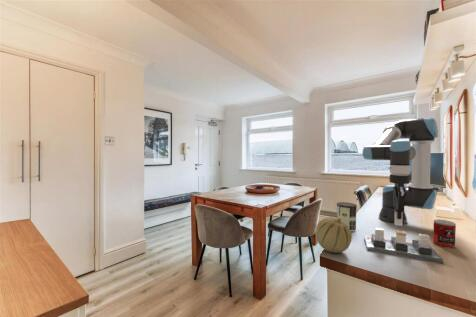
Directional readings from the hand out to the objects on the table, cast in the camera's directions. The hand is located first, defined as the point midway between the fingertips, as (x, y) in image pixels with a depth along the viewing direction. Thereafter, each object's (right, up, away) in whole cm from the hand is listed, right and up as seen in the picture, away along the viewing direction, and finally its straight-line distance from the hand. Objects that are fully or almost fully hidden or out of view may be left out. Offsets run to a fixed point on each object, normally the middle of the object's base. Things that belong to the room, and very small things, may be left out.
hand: (398, 225), depth 101 cm
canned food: (+24, -11, +4) cm, 27 cm away
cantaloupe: (-33, -10, -5) cm, 35 cm away
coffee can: (-12, -10, +25) cm, 29 cm away
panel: (-2, -10, -3) cm, 11 cm away
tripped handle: (-3, -6, -6) cm, 9 cm away
